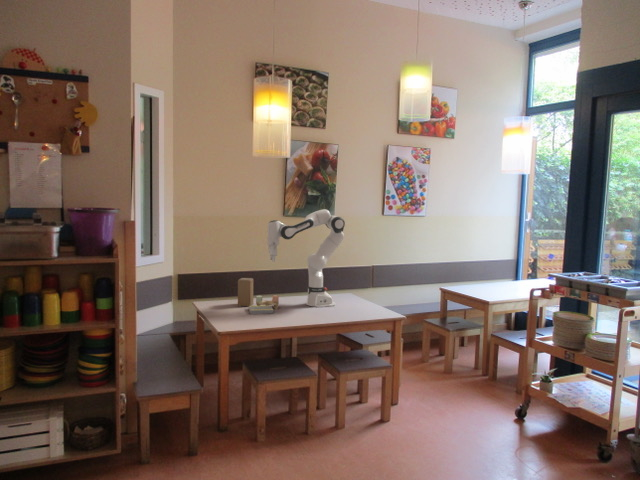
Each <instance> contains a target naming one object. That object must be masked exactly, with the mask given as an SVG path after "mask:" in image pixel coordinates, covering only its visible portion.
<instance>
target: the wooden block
mask: <svg viewBox="0 0 640 480" xmlns="http://www.w3.org/2000/svg"><path fill="white" fill-rule="evenodd" d="M253 304H254V278H252V277H241V278H239V279H238V280H237V306H238V307H249V306H253Z"/></svg>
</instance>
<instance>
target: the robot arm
mask: <svg viewBox="0 0 640 480" xmlns="http://www.w3.org/2000/svg"><path fill="white" fill-rule="evenodd" d="M322 225H325V226H326V228H328V229H330V233H329V234H328V236H327V237H326V238H325V240H323V241H322V243H321V244H320V246H319V248H318V250H317V251H316V253H311V254H309V255H308V256H307V261H306V262H307V271H308V286H307V300H306V304H305V305H307V306H310V307H315V308H323V307H335V306H336V302H335V301H334V300H333V297H332V296H331V295H330V294H329V293H328V292H327V290H328V288H327V287H325V286H324V273H323V269H325V267H326V265H327V263H328V262H329V260H330V258H331V256H332V255H333V254H334V252H335V251H336V250H337V248H338V247H339V246H340V245H341V243H342V242H343V241H344V238H345V234H344V227H346V226H345V225H346V224H345V220H344V218H342V217H341V216H338V215H331V212H330V211H329V210H328V209H326V208H325V209H319V210H316V211H314V212H311V213H309V214H307V215H306V216H305V218H304V220H303V221H301V222H299V223H295V224H294V225H288V224H284V223H282V222H281V221H280V220H278V219H276V220H269V222H268V225H267V237H266V239H267V242H266V243H267V245H268V253H269V256H270V260H271V261H272V262H273V263H274V262H275V261H276V257H277V256H278V245H280V237H281V238H282V239H284V240H291V239H293V238H294V237H295V236H296V235H297V234H299V233H301V232H303V231H305V230H308V229H309V230H310V229H312V228H317V227H319V226H322Z"/></svg>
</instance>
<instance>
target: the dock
mask: <svg viewBox="0 0 640 480" xmlns="http://www.w3.org/2000/svg"><path fill="white" fill-rule="evenodd" d="M248 311H249V314H250V315H258V314H259V315H260V314H261V315H263V314H265V315H266V314H274V309H273V307H272V305H261V306H257V305H251V306H248Z"/></svg>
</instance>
